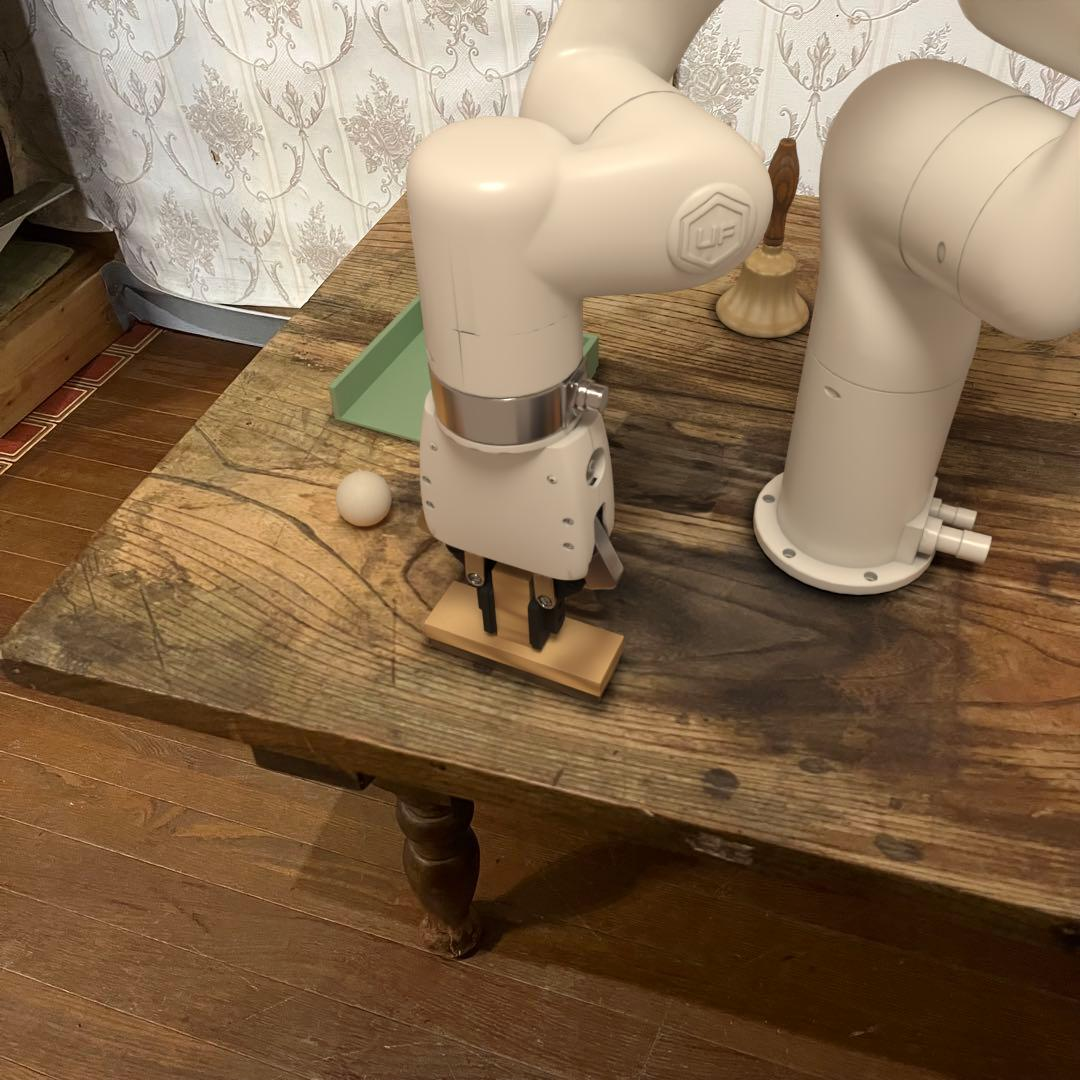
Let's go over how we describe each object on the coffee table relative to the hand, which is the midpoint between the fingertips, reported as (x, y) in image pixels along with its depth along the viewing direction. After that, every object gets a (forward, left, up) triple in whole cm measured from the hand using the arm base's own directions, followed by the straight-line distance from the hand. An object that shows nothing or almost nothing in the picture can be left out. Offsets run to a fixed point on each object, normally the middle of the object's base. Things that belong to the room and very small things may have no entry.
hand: (522, 623), depth 64 cm
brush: (0, 0, -3) cm, 3 cm away
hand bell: (-3, -44, -3) cm, 44 cm away
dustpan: (+16, -27, -3) cm, 32 cm away
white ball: (+16, -7, -1) cm, 18 cm away
